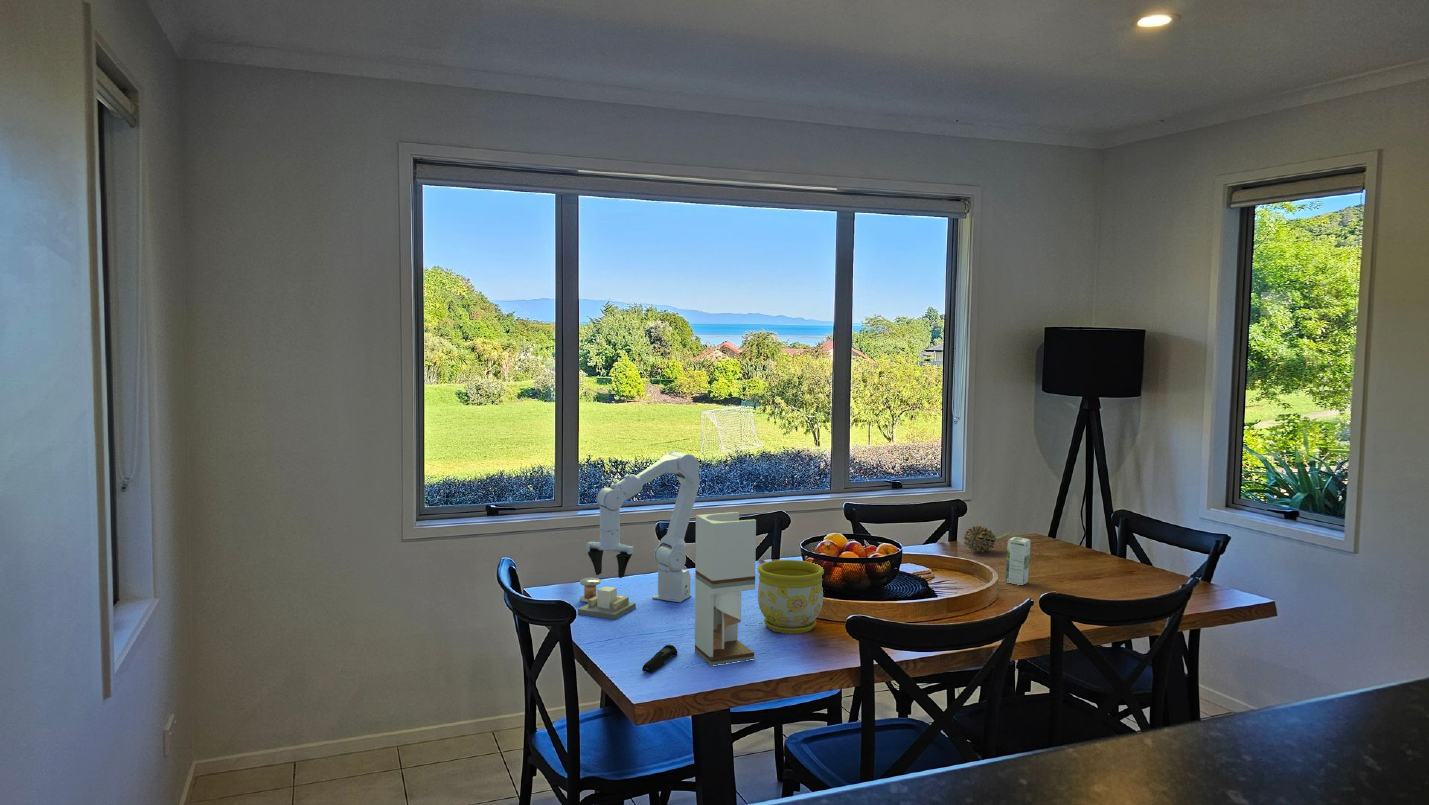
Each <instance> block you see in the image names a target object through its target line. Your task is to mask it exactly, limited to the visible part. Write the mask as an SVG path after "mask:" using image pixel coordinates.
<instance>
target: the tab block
mask: <svg viewBox="0 0 1429 805" xmlns="http://www.w3.org/2000/svg"><path fill="white" fill-rule="evenodd" d="M617 591H618V589H617V587H612V586H602V587H600V588H598V589H596V595H597V607H601V608H608V609H610V608H611V603H612V602H614V601H616V600H617V595H618V594H617Z"/></svg>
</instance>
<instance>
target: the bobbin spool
mask: <svg viewBox="0 0 1429 805" xmlns="http://www.w3.org/2000/svg"><path fill="white" fill-rule="evenodd" d="M579 584H580V585H581V586H584V587H583V591H584V592H583V593H584V594H583V595H582V596H580V597H579V598H580V599H579V601H580V602H581V603H583V604H584V603H585V604H588V600H589V599H591V598H593V597H595V596H597V586H599V585H600V584H601V579H600V578H597V577H585V578H581V579H580V580H579Z"/></svg>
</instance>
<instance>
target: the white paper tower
mask: <svg viewBox="0 0 1429 805" xmlns="http://www.w3.org/2000/svg"><path fill="white" fill-rule="evenodd" d="M756 540H757V519H754V518H753V519H744V520H743V519H741V520H740V512H739V511H730V512H719V513H706V514H704V513H703V514H696V515H695V564H694V565H695V574H694V576H695V579H694V580H695V581H694V582H695V585H694V588H695V590H694V591H695V592H694V596H695V598H694V600H695V602H694V603H695V604H694V607H695V608H694V653H695V654H696V655H697V656H698V655H699V656H700V657H699V656H698V657H699V658H701V659H702V658H703V659H704V660H705V661H707V662H708V663H707V664H708V665H709V664H710V665H711V666H713V665H718V664H726V663H732V662H737V661H746V660H750V659H754V660H755V651H753V650H752V649H751V648H749V647H748V646H746V645H745V644H744V643H742V642H741V641H740V640H739V639H738V636H739V635H738V634H739V632H738V631H739V627H738V625H739V623H741V622H742V592H745V591H746V592H747V591H753V590H755V591H756V558H757V557H756V556H757V555H756V553H757V552H756V551H757V548H756V547H757V546H756V545H757V544H756V543H757V541H756ZM703 659H702V660H703ZM704 660H703V661H704ZM705 661H704V662H705ZM710 665H709V666H710ZM711 666H710V667H711Z"/></svg>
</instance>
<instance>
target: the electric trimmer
mask: <svg viewBox="0 0 1429 805" xmlns="http://www.w3.org/2000/svg"><path fill="white" fill-rule="evenodd" d="M673 655H675V656H674V657H677V656H678V650H677V648H676V647H675V646H674V645H672V644H665V645H664V646H663V647H662V648H661V649H660V650H659V651H658V652H656V653H655V654H654V655H653V656H652V657H651V658H650V659H649V660H647V662H645V663H644V664H643V666H642V668H641V669H642V670H641V671H643V672H648V673H653V672H655V671H657V670H658V669H660V668H662V667H664V665H665V662H667V661H668V660H669V659H671V658H672V657H673Z"/></svg>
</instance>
